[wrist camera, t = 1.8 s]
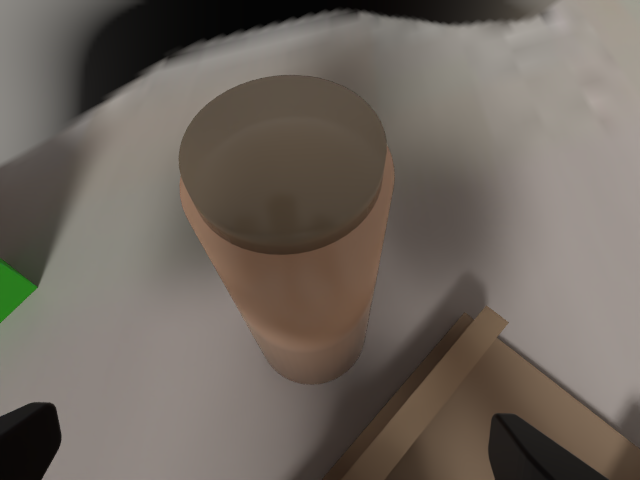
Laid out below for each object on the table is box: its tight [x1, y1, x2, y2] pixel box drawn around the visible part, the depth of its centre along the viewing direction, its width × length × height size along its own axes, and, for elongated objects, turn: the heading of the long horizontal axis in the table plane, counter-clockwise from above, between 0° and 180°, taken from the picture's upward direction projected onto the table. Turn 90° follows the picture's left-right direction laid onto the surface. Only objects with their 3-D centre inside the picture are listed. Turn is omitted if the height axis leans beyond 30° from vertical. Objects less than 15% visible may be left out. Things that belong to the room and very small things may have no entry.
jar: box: [179, 75, 395, 385], centre depth 16 cm, size 6×6×14 cm
